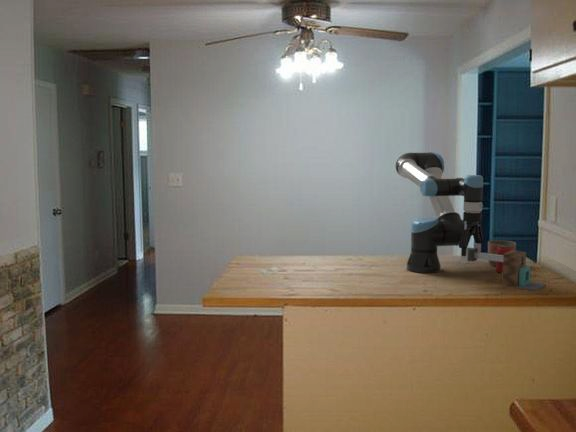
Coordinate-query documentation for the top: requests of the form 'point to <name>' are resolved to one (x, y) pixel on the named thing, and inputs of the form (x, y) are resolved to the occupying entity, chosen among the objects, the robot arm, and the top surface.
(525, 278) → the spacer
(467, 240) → the robot arm
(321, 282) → the top surface
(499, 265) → the beer can
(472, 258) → the shaft
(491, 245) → the planter
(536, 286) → the pad
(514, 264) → the bearing block
